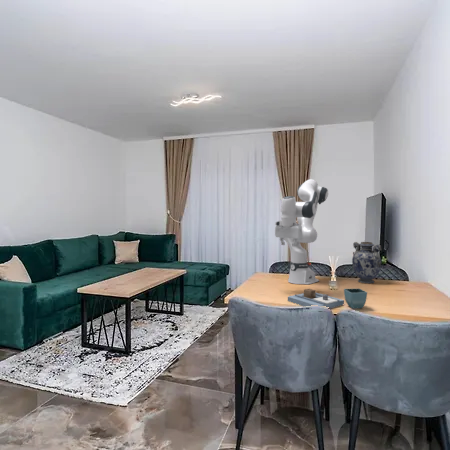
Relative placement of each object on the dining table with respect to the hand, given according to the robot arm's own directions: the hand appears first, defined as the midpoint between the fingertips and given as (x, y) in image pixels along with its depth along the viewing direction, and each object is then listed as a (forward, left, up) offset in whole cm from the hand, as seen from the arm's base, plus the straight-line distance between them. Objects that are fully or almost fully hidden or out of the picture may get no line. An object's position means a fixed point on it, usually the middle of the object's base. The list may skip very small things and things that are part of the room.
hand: (288, 245), depth 198 cm
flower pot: (-9, +40, -29) cm, 50 cm away
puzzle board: (+2, +23, -29) cm, 37 cm away
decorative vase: (-68, +8, -29) cm, 74 cm away
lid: (+2, +30, -26) cm, 40 cm away
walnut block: (+2, +19, -29) cm, 35 cm away
